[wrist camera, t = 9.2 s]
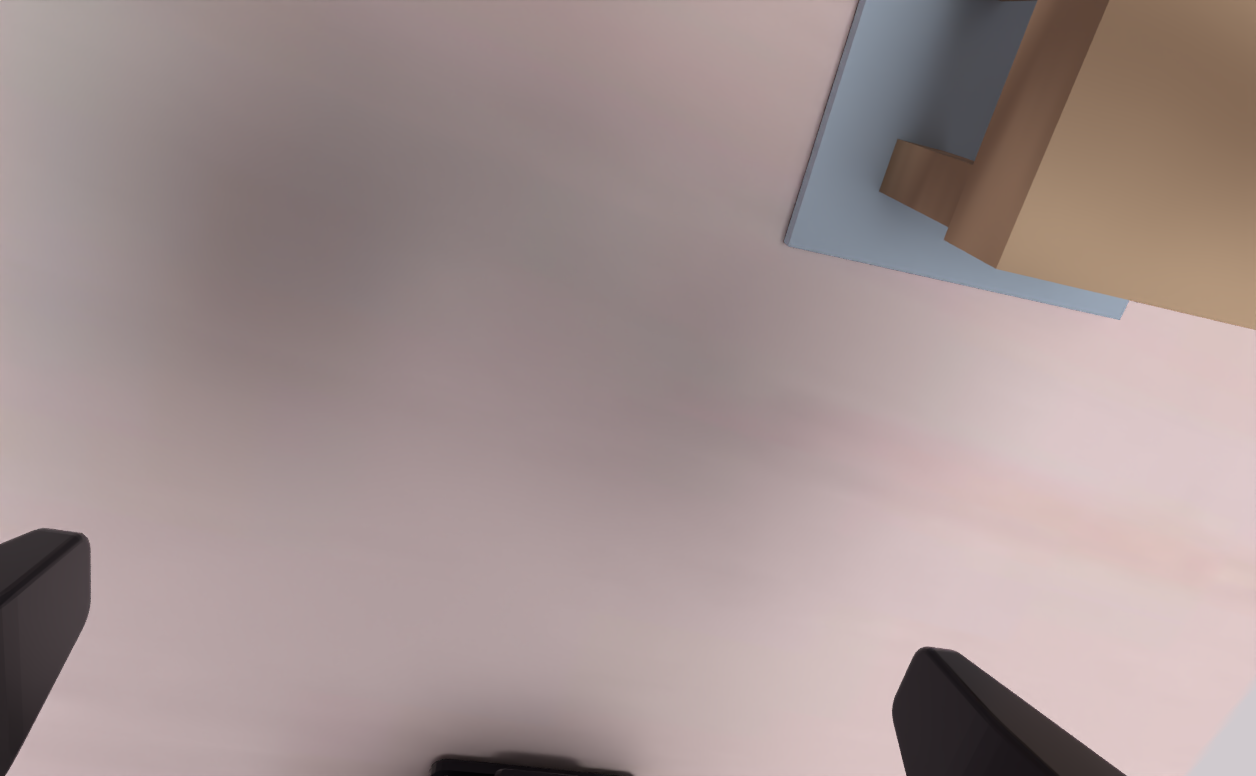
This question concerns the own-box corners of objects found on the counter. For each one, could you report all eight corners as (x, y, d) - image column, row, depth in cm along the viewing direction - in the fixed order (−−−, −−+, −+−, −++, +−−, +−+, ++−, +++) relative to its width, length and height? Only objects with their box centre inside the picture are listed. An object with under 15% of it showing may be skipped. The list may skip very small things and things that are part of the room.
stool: (1093, 253, 21) (1293, 338, 15) (867, 197, 20) (996, 268, 14) (1214, -11, 18) (1500, -23, 13) (968, -90, 17) (1167, -138, 12)
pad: (1109, 314, 22) (1119, 320, 21) (783, 242, 20) (788, 246, 20) (1293, -70, 18) (1309, -71, 18) (920, -194, 17) (928, -199, 16)
